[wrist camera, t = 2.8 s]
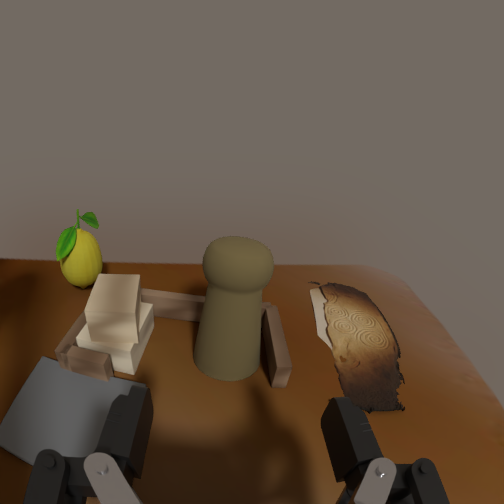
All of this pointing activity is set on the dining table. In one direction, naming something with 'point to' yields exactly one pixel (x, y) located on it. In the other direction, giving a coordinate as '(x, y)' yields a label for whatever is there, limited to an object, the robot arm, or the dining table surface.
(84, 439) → the pad
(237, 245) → the cork
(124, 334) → the offcut upper
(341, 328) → the parchment
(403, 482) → the robot arm
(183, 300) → the frame
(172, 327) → the dining table surface
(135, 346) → the offcut lower
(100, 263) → the lemon
